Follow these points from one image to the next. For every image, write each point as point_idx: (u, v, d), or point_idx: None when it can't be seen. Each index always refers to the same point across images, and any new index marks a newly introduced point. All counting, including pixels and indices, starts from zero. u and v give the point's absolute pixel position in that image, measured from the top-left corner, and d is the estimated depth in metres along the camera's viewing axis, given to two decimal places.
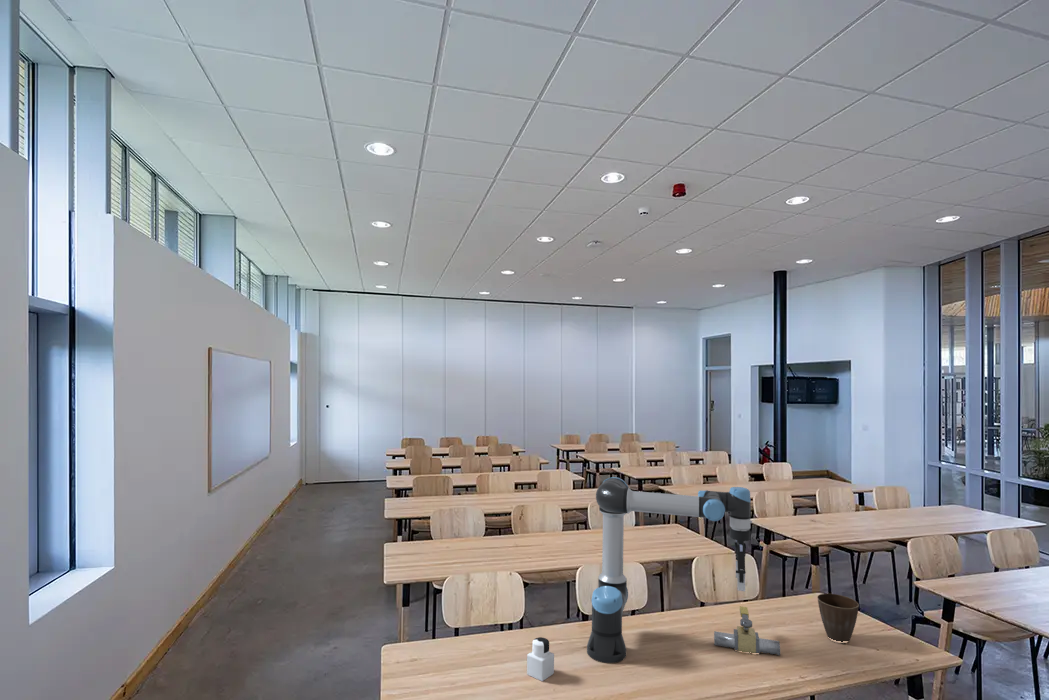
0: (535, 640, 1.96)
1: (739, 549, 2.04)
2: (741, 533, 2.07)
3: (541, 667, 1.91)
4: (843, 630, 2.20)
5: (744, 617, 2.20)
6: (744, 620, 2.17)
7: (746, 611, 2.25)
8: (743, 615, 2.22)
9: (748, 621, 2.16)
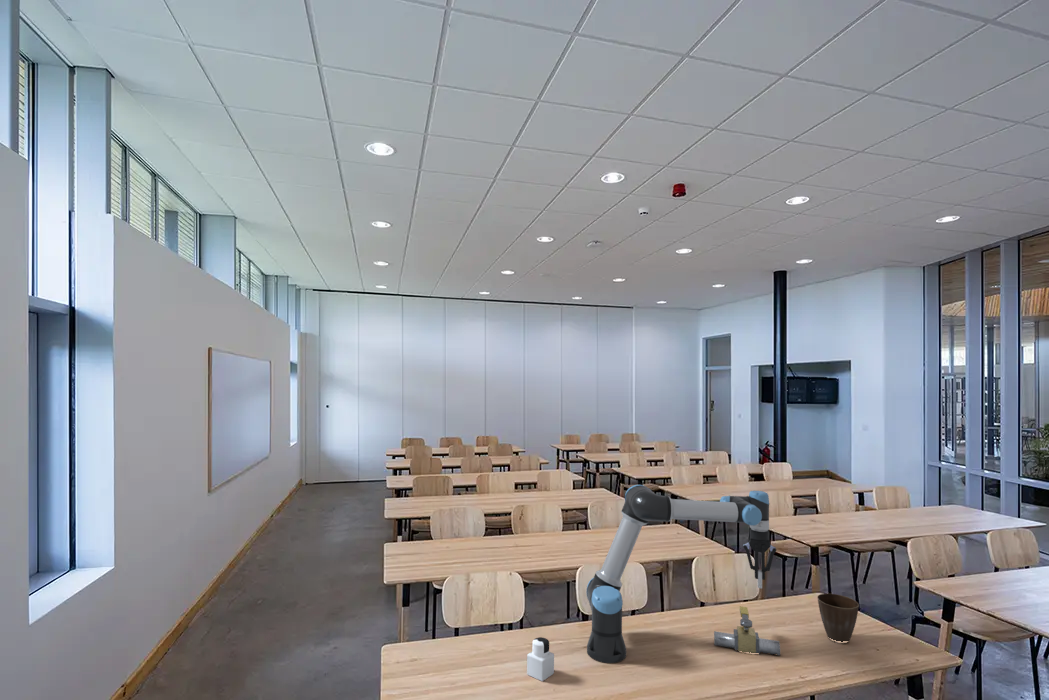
0: (535, 640, 1.96)
1: None
2: None
3: (541, 667, 1.91)
4: (843, 630, 2.20)
5: (744, 617, 2.20)
6: (744, 620, 2.17)
7: (746, 611, 2.25)
8: (743, 615, 2.22)
9: (748, 621, 2.16)
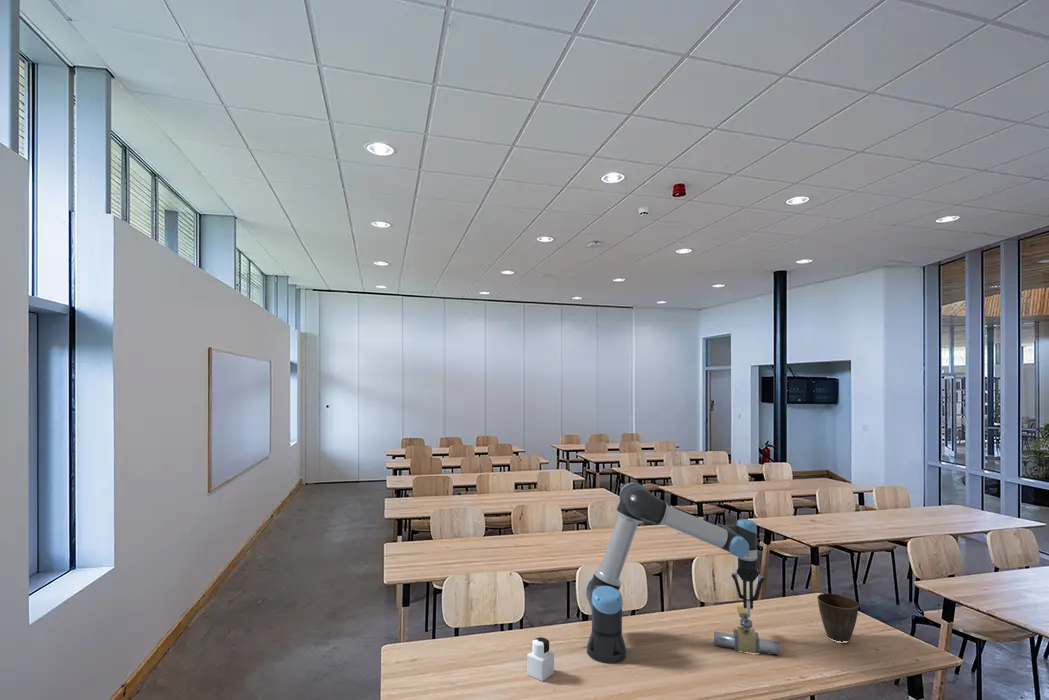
0: (535, 640, 1.96)
1: None
2: None
3: (541, 667, 1.91)
4: (843, 630, 2.20)
5: (743, 617, 2.20)
6: (744, 620, 2.17)
7: (744, 611, 2.26)
8: (742, 615, 2.22)
9: (748, 621, 2.16)
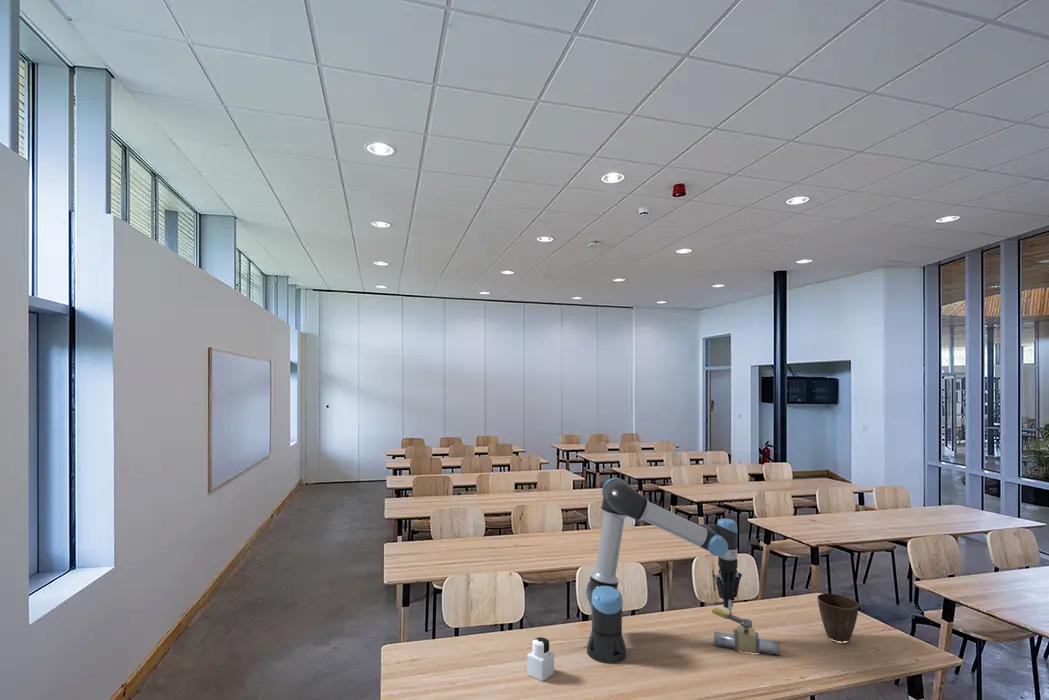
0: (535, 640, 1.96)
1: (715, 579, 2.25)
2: (720, 561, 2.25)
3: (541, 667, 1.91)
4: (843, 630, 2.20)
5: (736, 618, 2.19)
6: (744, 621, 2.16)
7: (725, 611, 2.25)
8: (732, 616, 2.21)
9: (747, 620, 2.17)
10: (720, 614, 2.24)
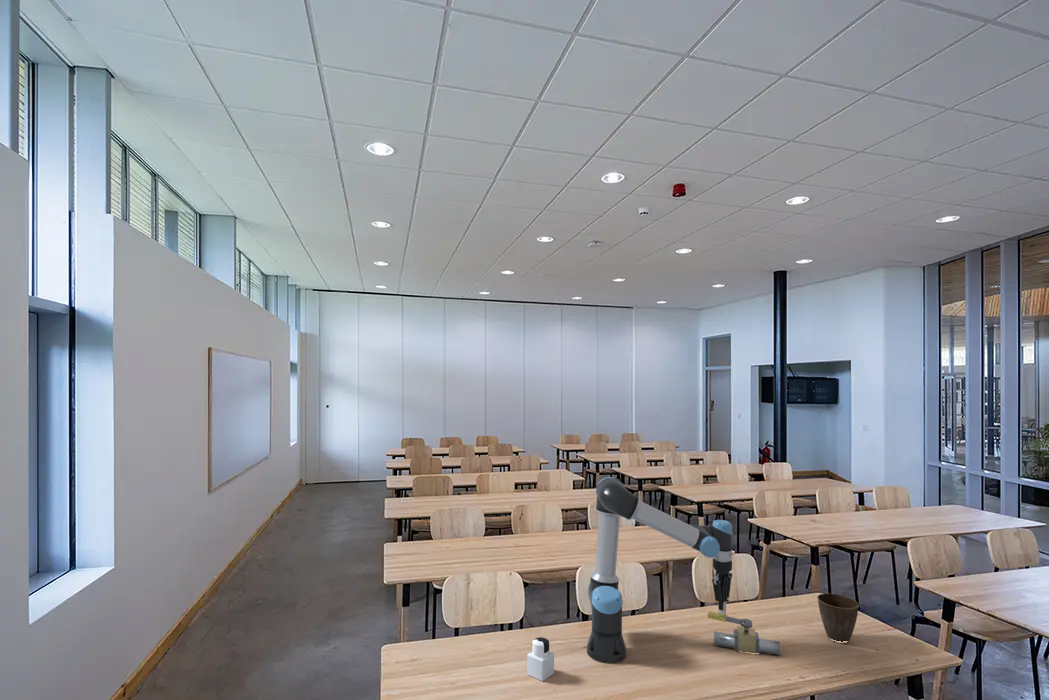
0: (535, 640, 1.96)
1: (713, 583, 2.20)
2: (718, 563, 2.21)
3: (541, 667, 1.91)
4: (843, 630, 2.20)
5: (735, 619, 2.18)
6: (744, 621, 2.16)
7: (720, 614, 2.22)
8: (730, 618, 2.19)
9: (746, 620, 2.17)
10: (717, 618, 2.20)
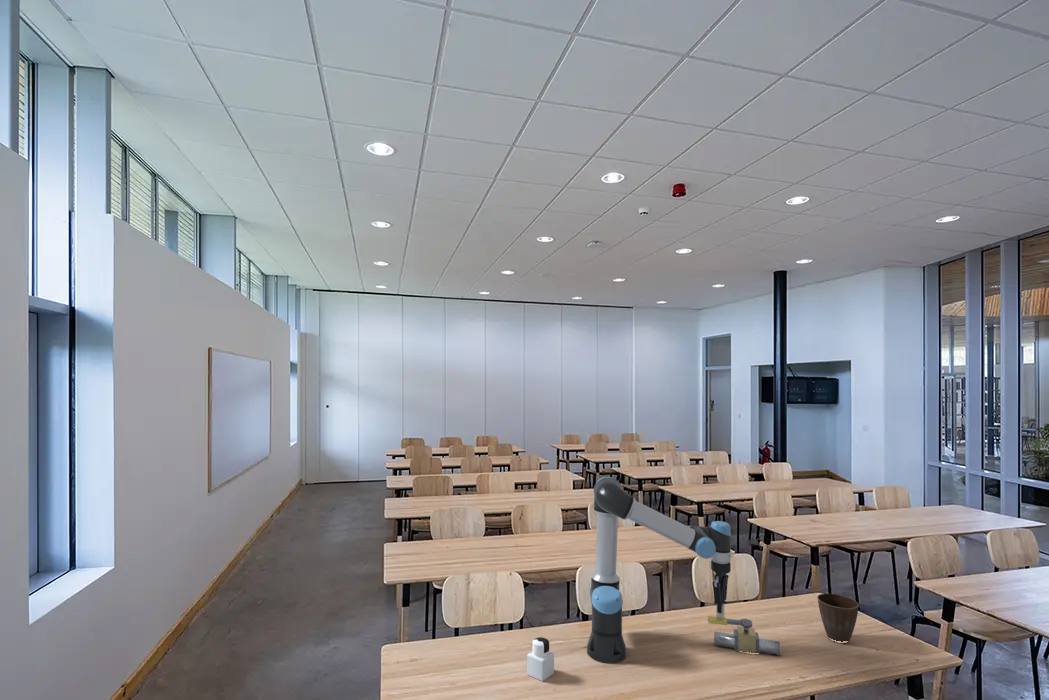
0: (535, 640, 1.96)
1: (714, 586, 2.17)
2: (718, 565, 2.19)
3: (541, 667, 1.91)
4: (843, 630, 2.20)
5: (736, 621, 2.17)
6: (745, 621, 2.16)
7: (719, 617, 2.19)
8: (731, 620, 2.17)
9: (745, 620, 2.17)
10: (719, 622, 2.17)
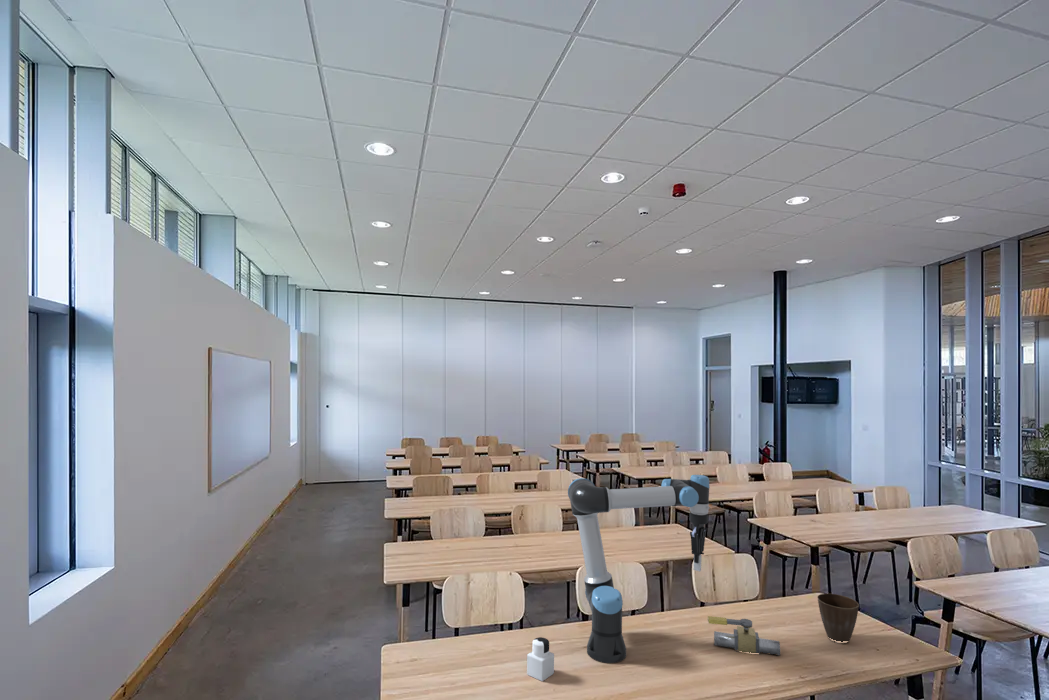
0: (535, 640, 1.96)
1: (691, 535, 2.23)
2: (696, 516, 2.25)
3: (541, 667, 1.91)
4: (843, 630, 2.20)
5: (736, 621, 2.17)
6: (745, 621, 2.16)
7: (719, 617, 2.19)
8: (731, 620, 2.17)
9: (745, 620, 2.17)
10: (719, 622, 2.17)
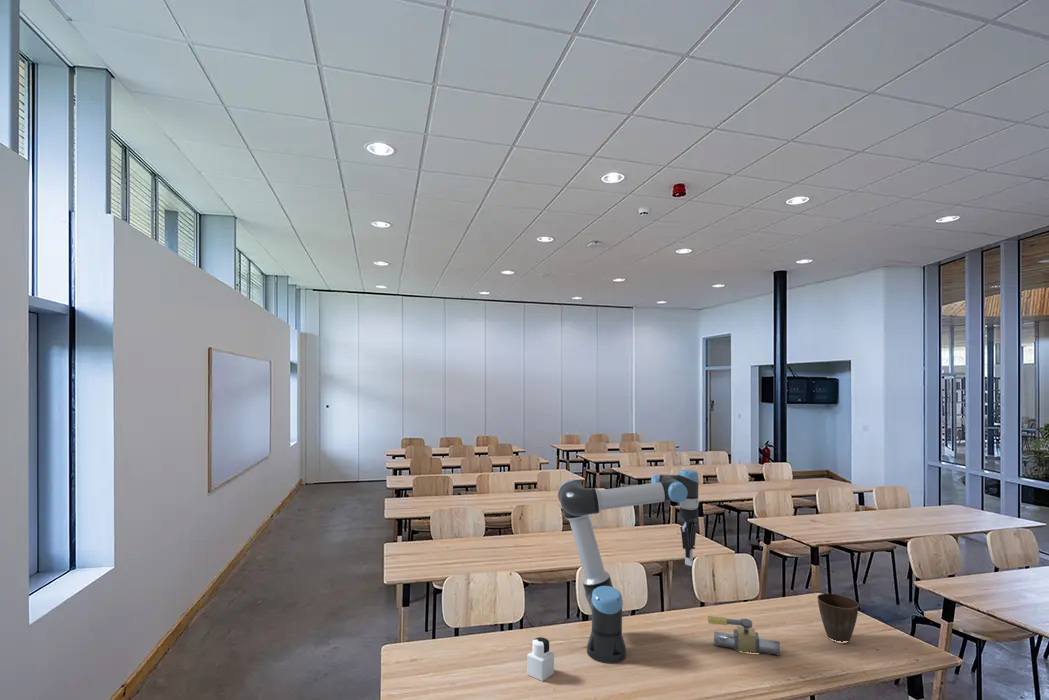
0: (535, 640, 1.96)
1: (682, 530, 2.23)
2: (686, 511, 2.25)
3: (541, 667, 1.91)
4: (843, 630, 2.20)
5: (736, 621, 2.17)
6: (745, 621, 2.16)
7: (719, 617, 2.19)
8: (731, 620, 2.17)
9: (745, 620, 2.17)
10: (719, 622, 2.17)
